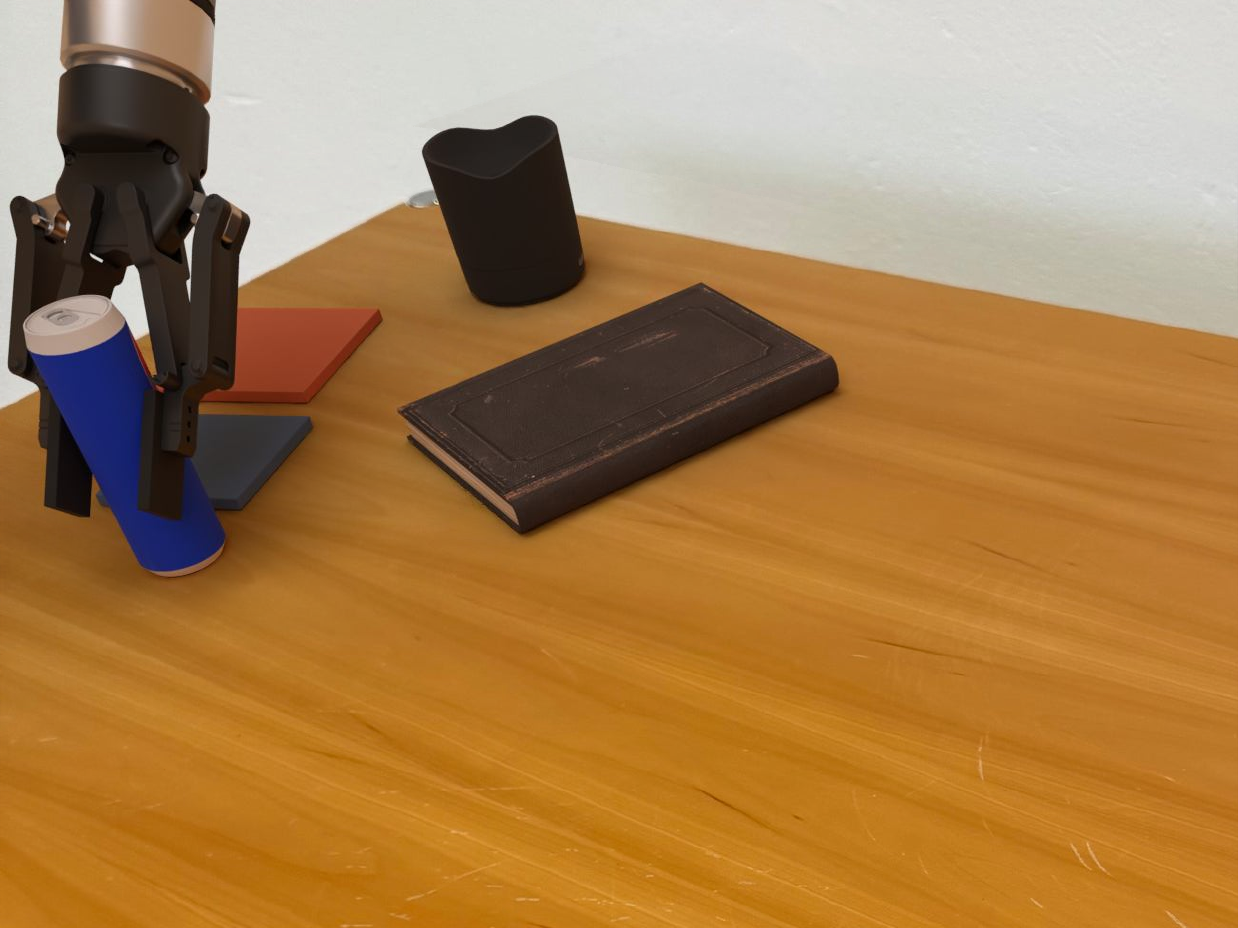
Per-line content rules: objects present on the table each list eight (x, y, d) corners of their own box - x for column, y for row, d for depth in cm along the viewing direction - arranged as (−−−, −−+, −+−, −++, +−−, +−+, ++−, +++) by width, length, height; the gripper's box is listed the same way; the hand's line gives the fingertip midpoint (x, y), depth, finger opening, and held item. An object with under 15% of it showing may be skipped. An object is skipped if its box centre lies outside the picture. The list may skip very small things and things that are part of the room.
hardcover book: (408, 440, 104) (396, 408, 102) (707, 313, 112) (701, 281, 111) (523, 538, 95) (513, 503, 93) (841, 391, 103) (836, 357, 101)
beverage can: (247, 543, 97) (137, 301, 86) (180, 589, 94) (56, 344, 83) (192, 524, 99) (77, 285, 88) (124, 568, 96) (-3, 327, 86)
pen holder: (536, 319, 114) (496, 174, 107) (438, 299, 118) (393, 157, 111) (617, 262, 120) (584, 121, 113) (521, 245, 124) (483, 107, 116)
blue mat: (99, 505, 102) (93, 494, 101) (180, 423, 109) (175, 413, 108) (241, 510, 100) (236, 499, 99) (314, 426, 106) (309, 415, 106)
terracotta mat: (150, 400, 111) (145, 389, 111) (235, 318, 119) (230, 307, 119) (307, 403, 109) (303, 392, 108) (382, 318, 117) (379, 308, 116)
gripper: (323, 118, 91) (298, 533, 92) (44, 124, 95) (22, 523, 96) (241, 51, 84) (215, 502, 85) (-59, 60, 88) (-81, 493, 89)
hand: (113, 512), depth 90 cm, fingers closed on beverage can, 5 cm apart
